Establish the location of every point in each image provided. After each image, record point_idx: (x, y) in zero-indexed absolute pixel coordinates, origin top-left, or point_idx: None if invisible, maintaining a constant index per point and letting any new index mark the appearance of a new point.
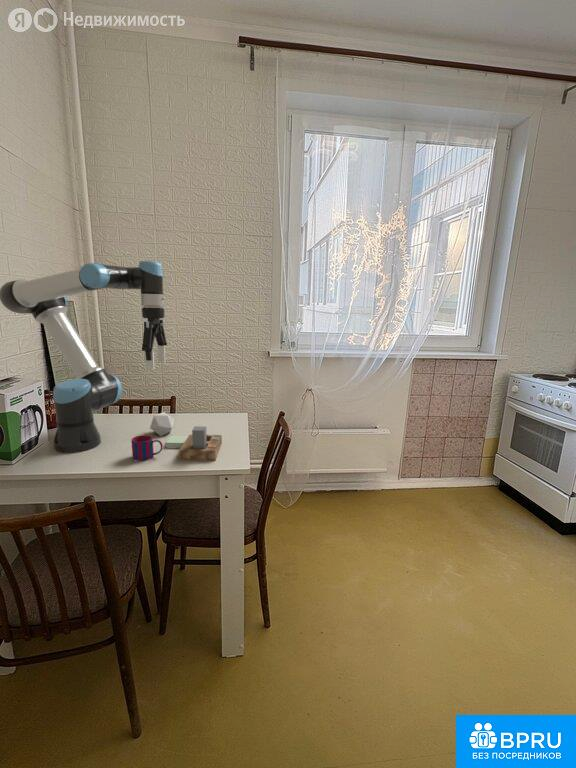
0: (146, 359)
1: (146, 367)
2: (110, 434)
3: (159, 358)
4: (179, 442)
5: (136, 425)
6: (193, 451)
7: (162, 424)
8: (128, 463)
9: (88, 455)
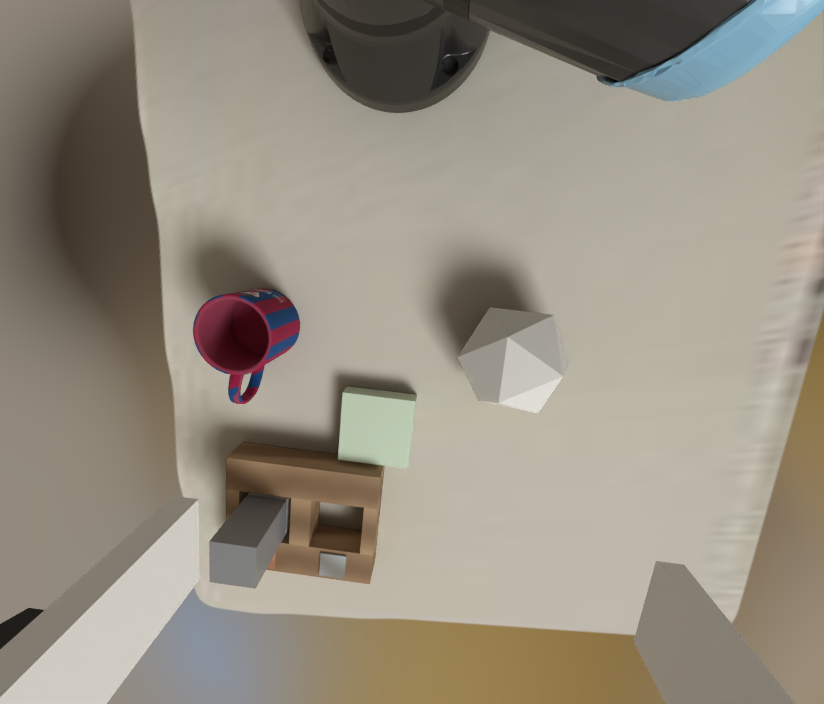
0: (5, 624)
1: (158, 517)
2: (520, 119)
3: (685, 638)
4: (341, 439)
5: (634, 210)
6: (227, 498)
7: (466, 371)
8: (216, 285)
9: (284, 110)
